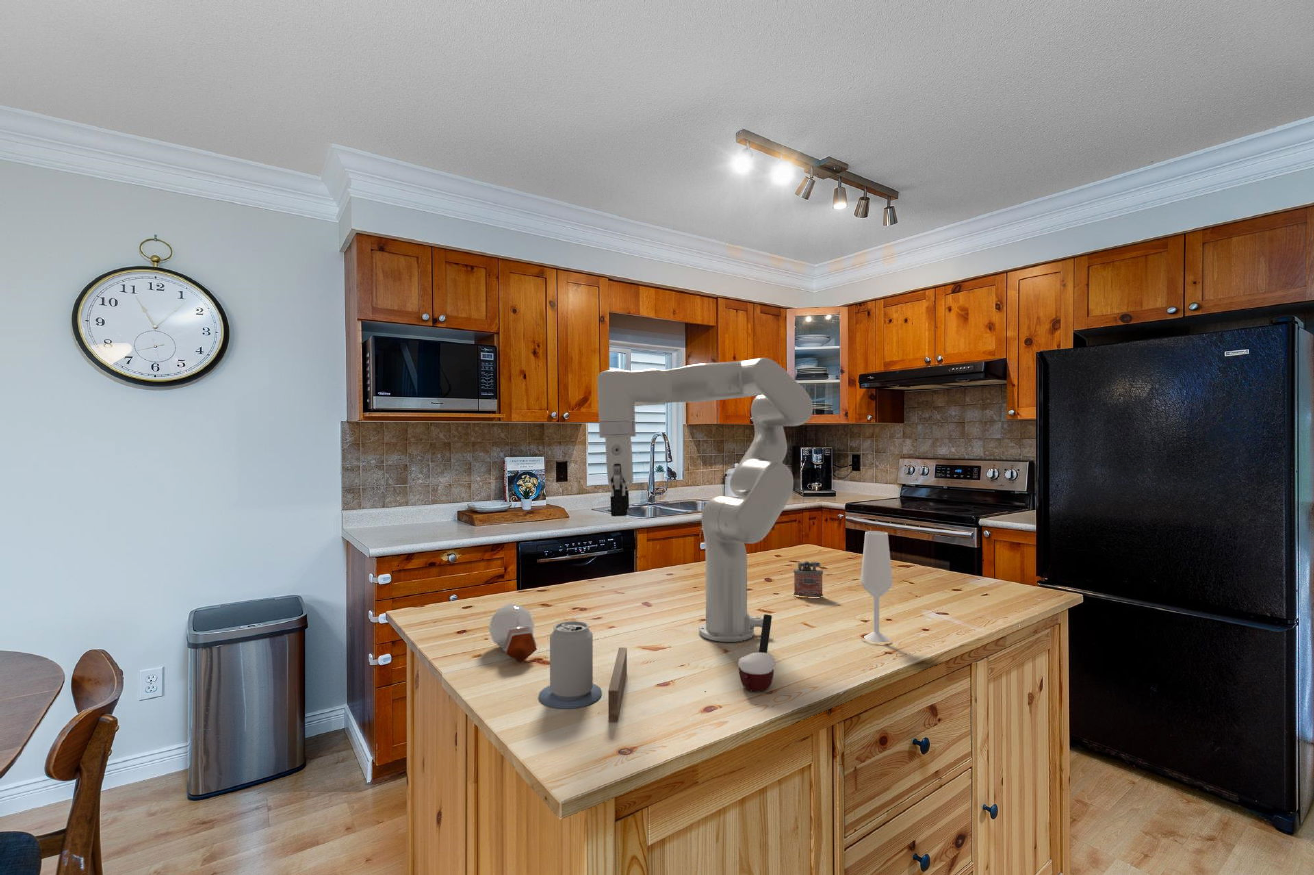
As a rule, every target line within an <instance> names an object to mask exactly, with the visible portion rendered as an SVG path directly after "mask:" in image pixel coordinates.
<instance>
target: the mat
mask: <svg viewBox="0 0 1314 875" xmlns="http://www.w3.org/2000/svg"><path fill="white" fill-rule="evenodd" d="M602 692H603V691H602V688H600V686H598V685H597V684H595V683H593V687H592V690H591V691H590V692H588V694H587V695H586V696H584V697H582V698H579V699H573V700H565V699H560V698H557V697H556V696H555V695H554V694H553V693H552V692H551V691H550V685H548V686H546V687H544V688H542V689H541V691H539V694H538V700H539V701H541V702H542V703H541V704H543V705H544V706H546V705H547V707H549V708H553V707H554V709H564V710H566V709H567V710H570V709H578V708H583V707H587V706H590V705H592V704H594V703H596V702H598V701H599V700H600V698H601V697H602V695H603V693H602Z"/></svg>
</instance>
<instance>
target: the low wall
mask: <svg viewBox="0 0 1314 875" xmlns="http://www.w3.org/2000/svg"><path fill="white" fill-rule="evenodd" d="M627 653H628V648H627V647H618V651H617V654H616V659H615V661H614V662H615V663H614V666H613V671H612V674H611V678H610V683H609V687H608V699H607V700H608V715H607V716H608V721H607V722H610V723H612V721H614V722H613V723H615V722H616V723H617V722H619V718H620V712H621V707H622V702H623V696H624V690H625V685H626V680H627V675H628V657H627V656H628V654H627Z"/></svg>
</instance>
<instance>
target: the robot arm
mask: <svg viewBox="0 0 1314 875" xmlns="http://www.w3.org/2000/svg"><path fill="white" fill-rule="evenodd" d="M749 397H754V399H753V401H752V403H751V407H750V413H751V419H752V422H753V426H754V437H753V441H752V442H751V444H750V445H749V447H748V449H747V450H746V452H745V454H744V455H743V456H742V458H741V460H740V461H739V463H738V464H737V466H736V467H735V469H734V470H733V472H732V474H731V477H730V480H729V486H730V488H729V489H730V490H731V491H732V493H733V494H734V495H735V497H734V496H727V495H720V496H716V497H713V498H711V499H709V500H708V501H707V502H706V503H705V504H704V507H703V508H702V511H701V527H702V534H703V537H704V546H705V548H704V549H705V622H704V623H702V624H700V626H699V627H698V633H699V635H700V636H701V637H702V638H704V639H707V640H710V641H715V642H721V643H722V642H723V643H737V642H743V640H744V641H748V640H750V639H752V638H753V637H754V635H755V628H762V624H763V618H762V617H761V616H751V615H749V612H748V556H747V554H748V553H747V550H746V549H747V548H746V545H745V544H751V545H753V544H756V543H759V542H761V541H763V539H765V537H766V536H767V535H768V534H769V532H770V531H771V529H772V528H773V527H774V525H775V523H776V522H777V520H778V518H779V517H780V515H781V513H782V512H783V510H784V509H785V507H786V505H787V504H788V502H789V501H790V499H791V496H792V494H793V490H794V475H793V473H792V471H791V469H790V468H789V467H788V466H787V465H786V464H784V463H783V461H784V460H785V457H786V455H787V451H788V443H787V439H786V433H785V430H784V429H785V428H784V427H798V426H801V425H804V424H805V423H807V422H808V421H810V418H811V417H812V415H813V411H814V406H813V400H812V398H811V396H810V395H809V393H808V392H807V390H806V389H804V387H803V386H802V385H801V384H800V383H799V382H797V380H796V379H795V378H794V377H793V376H792V375H790V373H789V372H787V371H786V370H785V368H783V367H782V366H781V365H780V364H778V363H777V362H776V361H774V360H773V359H771V358H768V357H758V358H753V359H747V360H737V361H726V362H725V361H724V362H710V363H707V362H706V363H697V364H691V365H686V366H682V367H677V368H670V369H666V370H662V369H657V368H648V369H644V370H643V369H642V370H633V371H632V370H631V371H630V370H626V369H625V370H624V369H610V370H604V371H601V372H600V373H598V375H597V401H598V402H597V403H598V430H599V431H598V432H599V438H600V439H601V438H603V439H604V438H605V439H604V440H605V441H604V442H605V462H606V463H605V464H606V475H607V483H608V486H611V487H610V495H611V496H610V500H609V501H610V515H611V517H627V516H628V510H629V508H630V497H629V496H630V495H629V494H630V493H629V492H630V491H629V490H628V486H631V485H632V484H633V483H634V469H633V468H634V467H633V466H634V463H633V447H632V437H633V438H634V437H636V436H637V435H636V431H637V430H636V407H642V406H654V405H655V406H656V405H659V404H669V403H670V404H671V403H700V402H701V403H702V402H710V401H712V402H713V401H719V400H720V401H721V400H730V399H740V398H749ZM736 496H737V497H736ZM752 636H753V637H752ZM749 638H750V639H749ZM747 639H748V640H747Z"/></svg>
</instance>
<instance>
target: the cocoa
mask: <svg viewBox="0 0 1314 875" xmlns="http://www.w3.org/2000/svg"><path fill="white" fill-rule="evenodd" d="M772 618H773V616H772V615H771V614H767V613H766V614H763V617H762V619H763V624H762V627H761V633H760V640H759V646H758V652H752V653H748V654H747V655H745V656H742V657H740V658H739V659H738V662H737V664H738V676H739V678H740V682H741V684H742V686H743V687H744V688H745V689H747V690H748V691H750V690H752V691H751V692H754V691H761V692H764V691H766V690H767V689H769V688H770V687H771V685H772V683H773V678H774V673H775V672H774V670H775V669H774V668H775V667H776V661H775V657H773V655H772V654H771V653H768V649H769V642H770V635H771V634H770V633H771V626H772Z"/></svg>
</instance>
